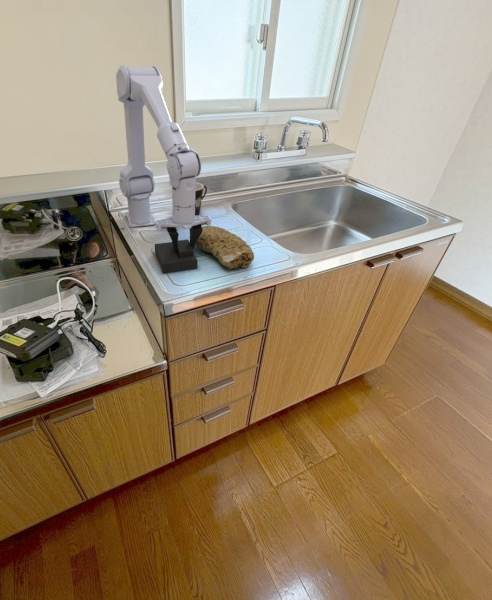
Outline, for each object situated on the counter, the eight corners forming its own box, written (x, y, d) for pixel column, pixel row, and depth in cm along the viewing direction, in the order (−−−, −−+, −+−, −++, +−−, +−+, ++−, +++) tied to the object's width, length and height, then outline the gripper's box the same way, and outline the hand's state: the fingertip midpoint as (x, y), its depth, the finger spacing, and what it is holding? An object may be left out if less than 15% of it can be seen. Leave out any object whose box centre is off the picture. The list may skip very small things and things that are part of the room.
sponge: (256, 269, 90) (226, 226, 101) (259, 250, 84) (226, 206, 95) (214, 285, 88) (188, 239, 98) (213, 266, 81) (185, 219, 92)
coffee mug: (182, 220, 110) (182, 191, 104) (175, 210, 116) (175, 182, 110) (213, 216, 114) (215, 188, 107) (205, 207, 120) (206, 180, 113)
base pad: (155, 252, 92) (154, 243, 90) (186, 249, 95) (186, 240, 93) (163, 273, 84) (162, 264, 82) (197, 268, 87) (197, 259, 85)
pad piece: (174, 250, 91) (174, 240, 89) (187, 248, 92) (187, 239, 90) (179, 261, 86) (179, 252, 85) (194, 259, 88) (194, 250, 86)
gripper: (158, 212, 75) (161, 261, 84) (216, 207, 79) (212, 254, 88) (152, 201, 80) (155, 248, 89) (207, 196, 84) (205, 242, 93)
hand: (183, 250), depth 88 cm, fingers closed on pad piece, 4 cm apart
